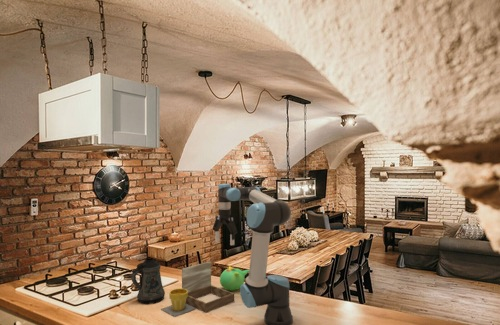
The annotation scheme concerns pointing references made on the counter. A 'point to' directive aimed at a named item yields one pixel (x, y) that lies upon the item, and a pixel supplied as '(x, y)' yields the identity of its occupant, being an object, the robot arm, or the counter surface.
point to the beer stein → (149, 282)
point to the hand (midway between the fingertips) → (224, 243)
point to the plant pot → (178, 298)
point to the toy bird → (232, 278)
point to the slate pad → (177, 313)
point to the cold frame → (203, 288)
